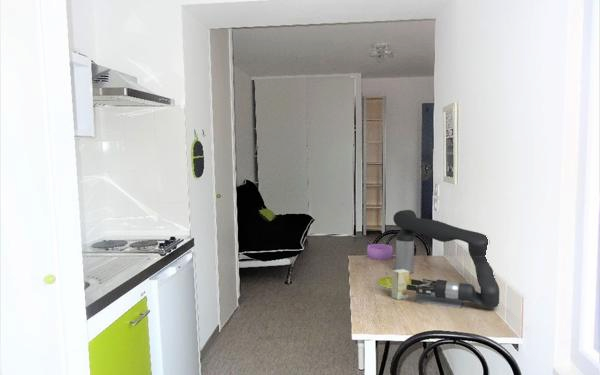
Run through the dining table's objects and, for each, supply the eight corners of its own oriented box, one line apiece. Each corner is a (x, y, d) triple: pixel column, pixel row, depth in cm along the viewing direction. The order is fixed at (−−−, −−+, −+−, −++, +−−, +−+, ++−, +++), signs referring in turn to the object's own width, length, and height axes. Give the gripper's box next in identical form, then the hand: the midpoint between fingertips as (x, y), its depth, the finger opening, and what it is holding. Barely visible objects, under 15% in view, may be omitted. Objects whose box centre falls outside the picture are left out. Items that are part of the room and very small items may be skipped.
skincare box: (397, 300, 195) (398, 272, 194) (391, 297, 199) (391, 270, 198) (409, 298, 198) (409, 270, 197) (402, 295, 202) (403, 268, 201)
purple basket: (366, 258, 270) (366, 237, 269) (368, 253, 284) (368, 232, 283) (408, 261, 264) (409, 239, 263) (408, 255, 279) (409, 234, 278)
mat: (421, 290, 208) (421, 289, 208) (464, 296, 200) (464, 295, 200) (414, 301, 194) (414, 300, 194) (460, 308, 186) (460, 307, 186)
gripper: (450, 276, 195) (412, 272, 202) (445, 285, 183) (405, 280, 190) (449, 293, 196) (412, 288, 203) (444, 303, 183) (405, 297, 190)
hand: (409, 284), depth 196 cm, fingers open, 8 cm apart
